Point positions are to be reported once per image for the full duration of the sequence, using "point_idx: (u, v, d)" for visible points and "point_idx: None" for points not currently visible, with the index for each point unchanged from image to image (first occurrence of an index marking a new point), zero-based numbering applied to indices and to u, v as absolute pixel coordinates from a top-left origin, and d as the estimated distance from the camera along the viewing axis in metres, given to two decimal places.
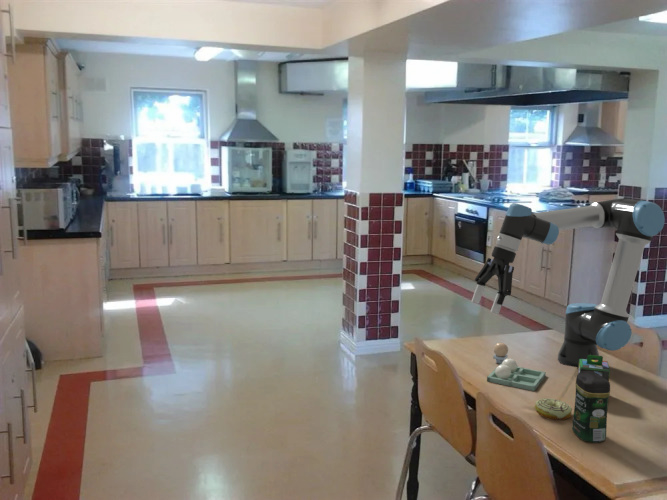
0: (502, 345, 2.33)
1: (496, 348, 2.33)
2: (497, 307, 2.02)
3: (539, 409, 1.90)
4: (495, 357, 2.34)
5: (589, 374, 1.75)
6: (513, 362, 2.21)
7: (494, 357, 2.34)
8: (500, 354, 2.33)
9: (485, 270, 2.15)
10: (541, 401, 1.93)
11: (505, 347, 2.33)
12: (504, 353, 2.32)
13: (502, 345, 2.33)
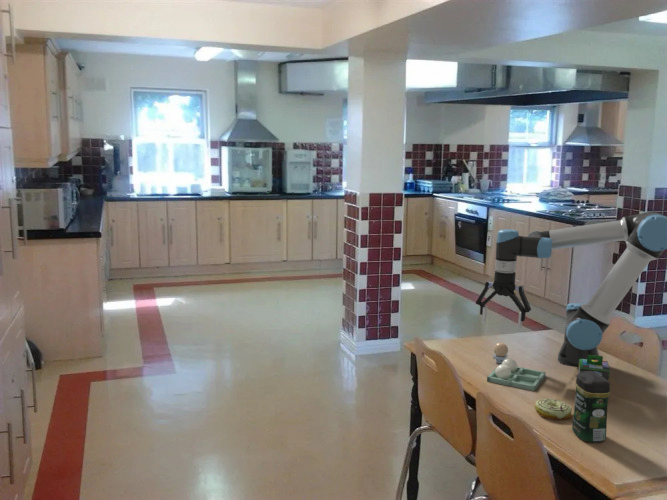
0: (502, 345, 2.33)
1: (496, 348, 2.33)
2: (521, 323, 2.29)
3: (539, 409, 1.90)
4: (495, 357, 2.34)
5: (589, 374, 1.75)
6: (513, 362, 2.21)
7: (494, 357, 2.34)
8: (500, 354, 2.33)
9: (485, 293, 2.34)
10: (541, 401, 1.93)
11: (505, 347, 2.33)
12: (504, 353, 2.32)
13: (502, 345, 2.33)
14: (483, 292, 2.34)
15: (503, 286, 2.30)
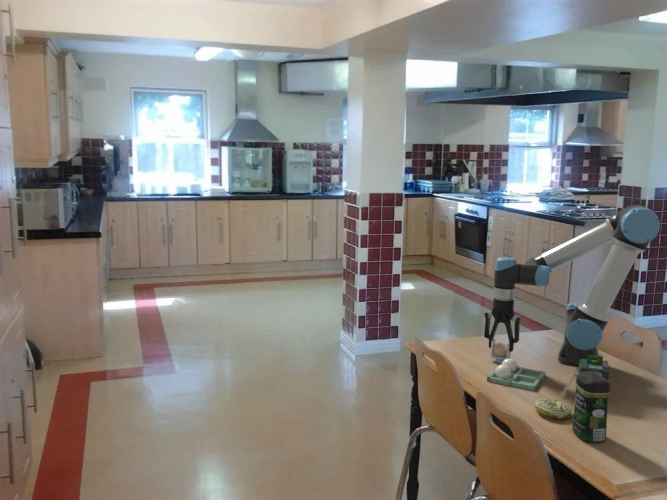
0: (502, 345, 2.33)
1: (496, 348, 2.33)
2: (509, 353, 2.33)
3: (539, 409, 1.90)
4: (495, 357, 2.34)
5: (589, 374, 1.75)
6: (513, 362, 2.21)
7: (494, 357, 2.34)
8: (500, 354, 2.33)
9: (488, 323, 2.35)
10: (541, 401, 1.93)
11: (505, 347, 2.33)
12: (504, 353, 2.32)
13: (502, 345, 2.33)
14: (486, 323, 2.35)
15: (501, 310, 2.31)
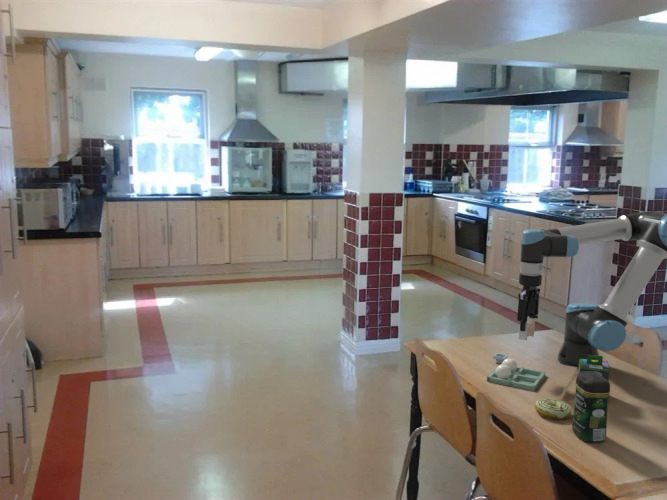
0: (531, 323, 2.19)
1: (531, 328, 2.17)
2: None
3: (539, 409, 1.90)
4: (495, 357, 2.34)
5: (589, 374, 1.75)
6: (513, 362, 2.21)
7: (494, 357, 2.34)
8: (533, 332, 2.19)
9: None
10: (541, 401, 1.93)
11: None
12: None
13: (531, 323, 2.19)
14: (525, 306, 2.13)
15: (532, 286, 2.16)
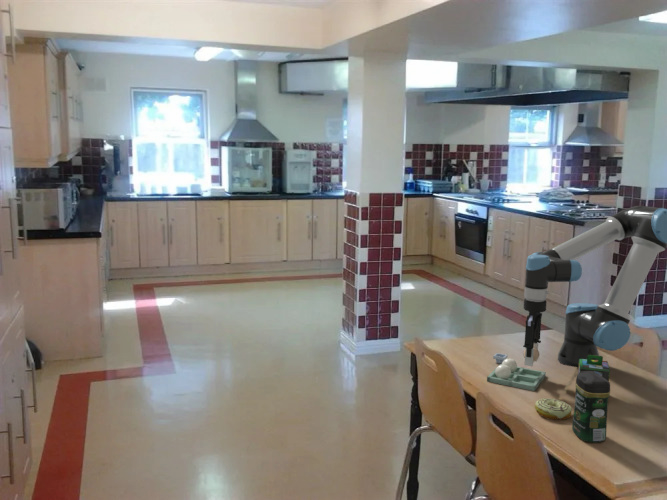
0: (535, 348, 2.18)
1: (537, 353, 2.16)
2: None
3: (539, 409, 1.90)
4: (495, 357, 2.34)
5: (589, 374, 1.75)
6: (513, 362, 2.21)
7: (494, 357, 2.34)
8: None
9: None
10: (541, 401, 1.93)
11: None
12: None
13: None
14: (532, 332, 2.11)
15: (537, 311, 2.15)
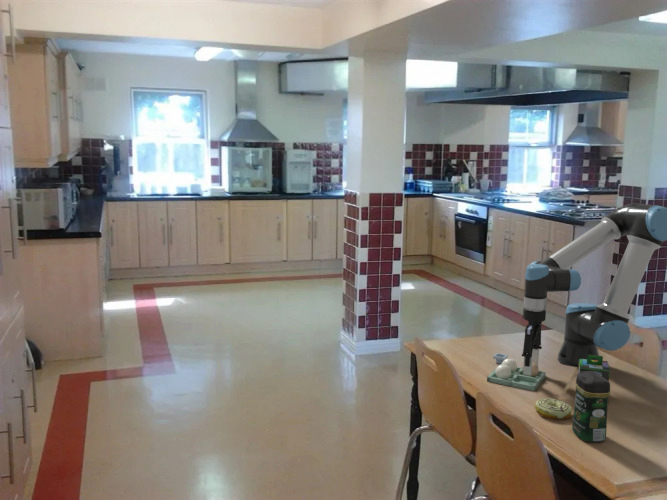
0: (535, 364, 2.19)
1: (536, 369, 2.17)
2: None
3: (539, 409, 1.90)
4: (495, 357, 2.34)
5: (589, 374, 1.75)
6: (513, 362, 2.21)
7: (494, 357, 2.34)
8: None
9: None
10: (541, 401, 1.93)
11: None
12: None
13: (535, 364, 2.19)
14: (531, 341, 2.11)
15: (536, 322, 2.16)
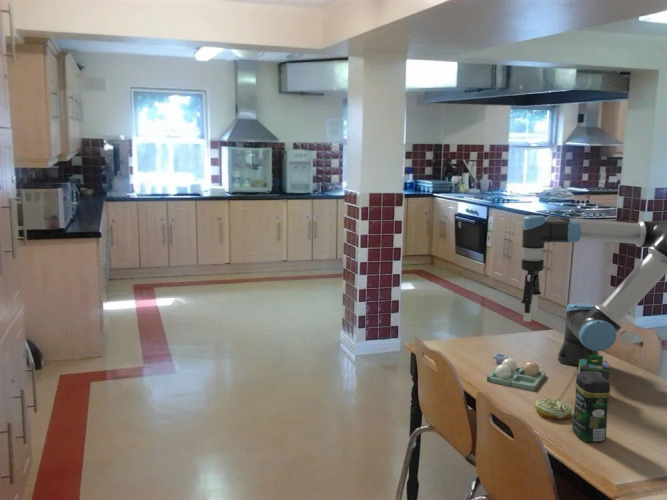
0: None
1: (537, 367, 2.18)
2: None
3: (539, 409, 1.90)
4: (495, 357, 2.34)
5: (589, 374, 1.75)
6: (513, 362, 2.21)
7: (494, 357, 2.34)
8: (537, 373, 2.19)
9: None
10: (541, 401, 1.93)
11: None
12: None
13: None
14: (531, 288, 2.15)
15: (535, 274, 2.21)
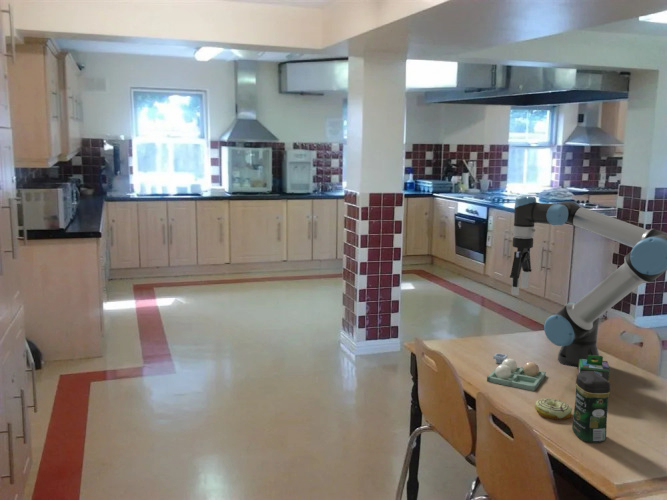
0: (535, 363, 2.20)
1: (537, 368, 2.18)
2: None
3: (539, 409, 1.90)
4: (495, 357, 2.34)
5: (589, 374, 1.75)
6: (513, 362, 2.21)
7: (494, 357, 2.34)
8: (537, 373, 2.19)
9: None
10: (541, 401, 1.93)
11: None
12: None
13: None
14: (519, 263, 2.30)
15: (525, 251, 2.36)
